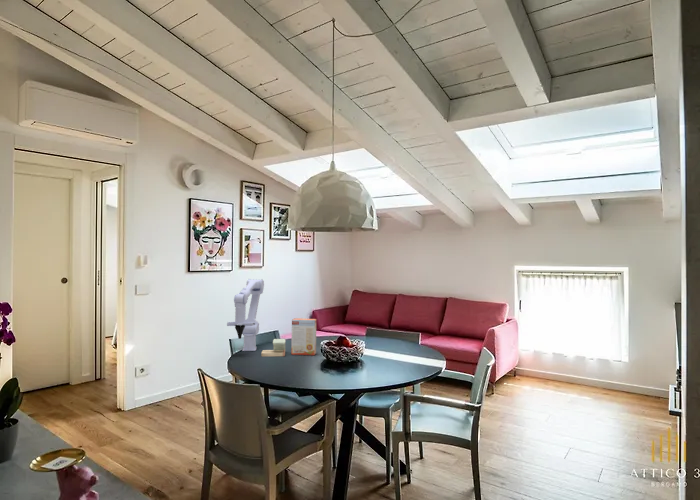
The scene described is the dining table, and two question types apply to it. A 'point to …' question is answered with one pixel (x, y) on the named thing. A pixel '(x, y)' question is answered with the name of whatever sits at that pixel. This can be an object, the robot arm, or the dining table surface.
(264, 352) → the panel
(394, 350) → the dining table surface
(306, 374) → the dining table surface
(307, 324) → the cracker box
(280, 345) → the overhang
